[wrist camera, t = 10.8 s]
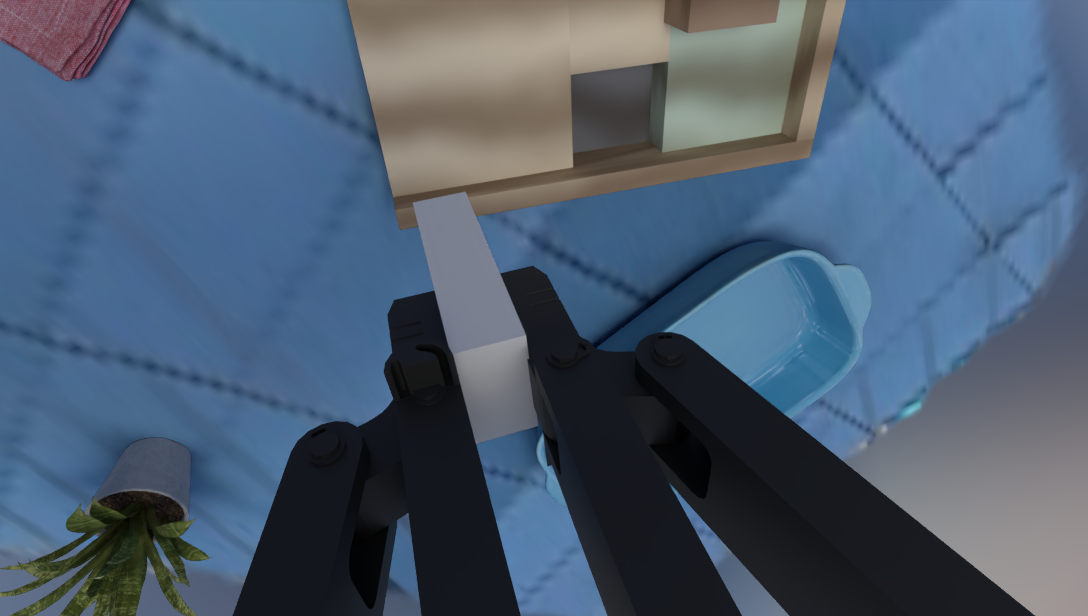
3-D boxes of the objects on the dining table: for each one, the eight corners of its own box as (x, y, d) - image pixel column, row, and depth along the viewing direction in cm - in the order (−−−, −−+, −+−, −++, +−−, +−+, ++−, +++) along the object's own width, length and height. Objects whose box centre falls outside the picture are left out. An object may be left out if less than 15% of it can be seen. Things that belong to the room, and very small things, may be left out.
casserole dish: (788, 173, 52) (841, 208, 46) (852, 310, 65) (899, 350, 60) (478, 408, 59) (492, 463, 53) (593, 489, 72) (614, 539, 66)
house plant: (-5, 430, 45) (-143, 643, 33) (166, 368, 46) (96, 552, 34) (121, 523, 54) (51, 718, 42) (262, 469, 55) (236, 644, 42)
